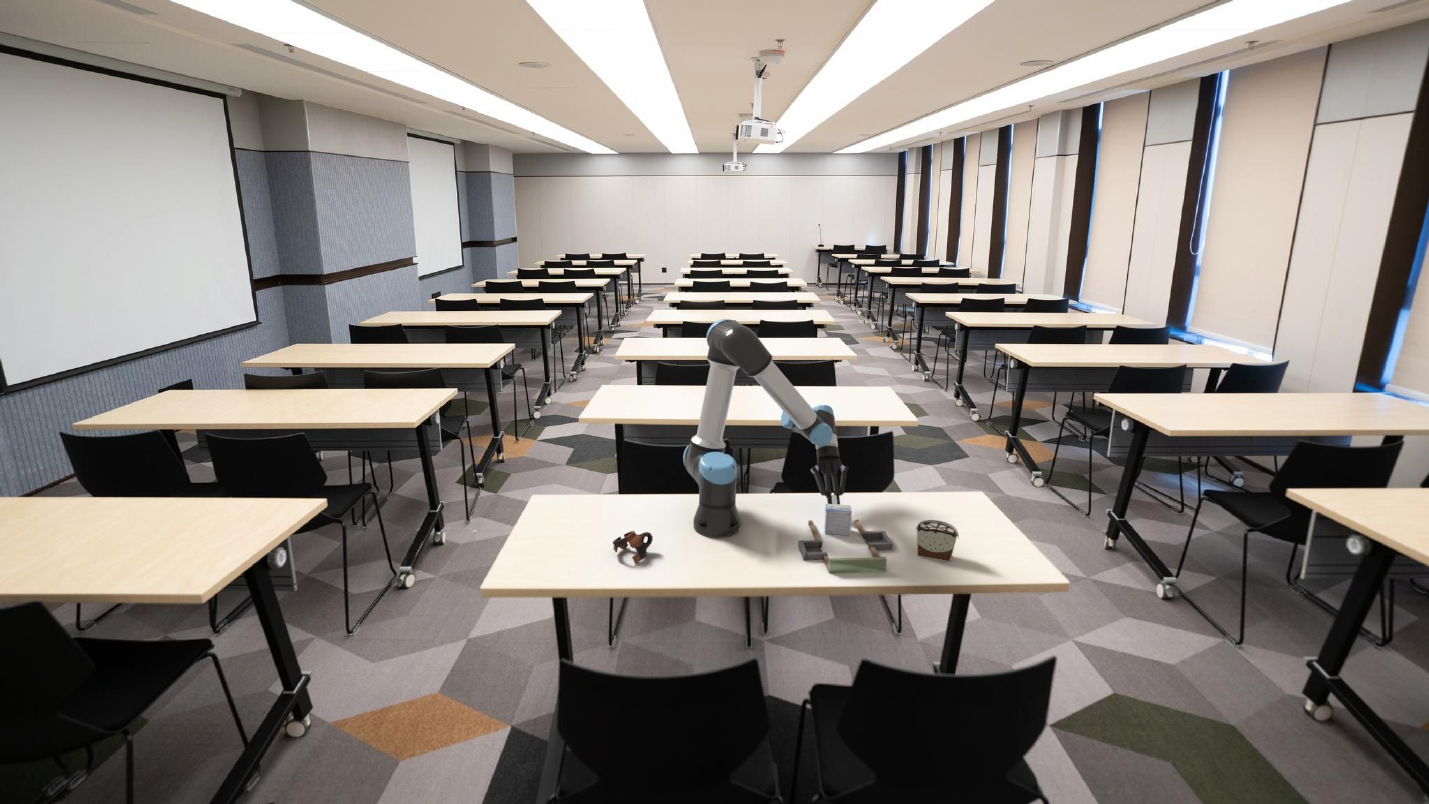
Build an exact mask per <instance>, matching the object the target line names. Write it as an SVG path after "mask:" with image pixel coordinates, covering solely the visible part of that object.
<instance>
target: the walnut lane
mask: <svg viewBox="0 0 1429 804" xmlns="http://www.w3.org/2000/svg"><path fill="white" fill-rule="evenodd" d="M853 524H854V526H855V528H856V529H857V531H858V533H859V535H860V537H861V538H862V539H863V538H864V537H863V533H862V531H866V530H865V528H864V527H863V525H862V524H861V521H860V520H859V519H854V523H853ZM808 527H809V530H810V532H811V535H812V536H813V538H814V539H813V540H822V539H821V537H820V535H819V532H818V530H817V528H816V526H815V524H814V521H813V520H811V519H809V520H808ZM865 536H866V535H865ZM821 544H822V545H823V542H822V543H821ZM818 547H819V545H818ZM867 547H870V549H869V548H868V551H869V553H870V554H871V557H870V556H869V557H835V558H834V557H833V558H831V557H830V556H829V555H828V556H824V560H823V562H824V566H825V567H826V570H827V571H828V573H829V574H836V573H837V574H842V573H850V574H851V573H885V572H887V571H886V570H887V560H888V559H887V557H886V556H880V554H879V552H878V550H876V549H875V548H874V546H868V545H867Z"/></svg>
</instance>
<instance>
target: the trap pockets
mask: <svg viewBox="0 0 1429 804" xmlns="http://www.w3.org/2000/svg"><path fill="white" fill-rule="evenodd" d="M862 533H863V537H864V538H862V539H863V540H864V542H865V543H866V544H867V547H868V546H874V548H875V549H876V551H893V550H894V549H893V548H894V543H893V541H892V540H891V539H890V537H889V536H888V534H887V532H886V531H885V530H865V531H862ZM865 535H866V536H865ZM821 543H822V544H821ZM818 545H819V547H818ZM797 548H798V551H799V552H800V555H801V559H802V561H824V556H828V557H829V553H828V551H823V540H822V539H821V540H815V539H809V540H808V539H807V540H806V539H804V540H803V539H802V540H801V539H799V540H798V543H797ZM868 548H869V549H870V547H868ZM869 549H868V550H869Z"/></svg>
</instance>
